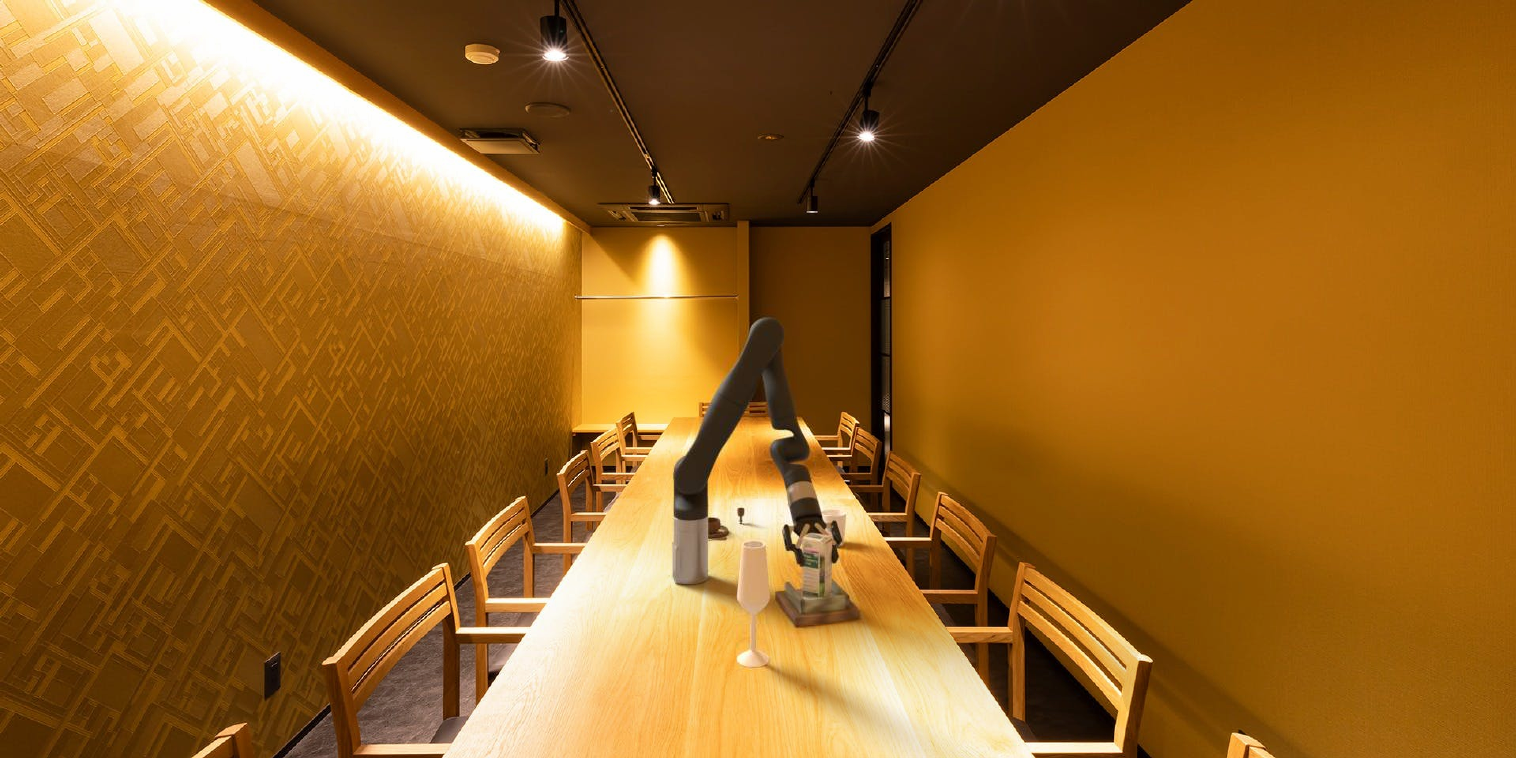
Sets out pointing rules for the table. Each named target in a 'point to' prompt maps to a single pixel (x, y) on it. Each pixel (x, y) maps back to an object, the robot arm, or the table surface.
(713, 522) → the place setting
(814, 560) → the syrup box
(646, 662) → the table surface
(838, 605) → the dock
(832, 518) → the white cup
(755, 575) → the champagne flute
